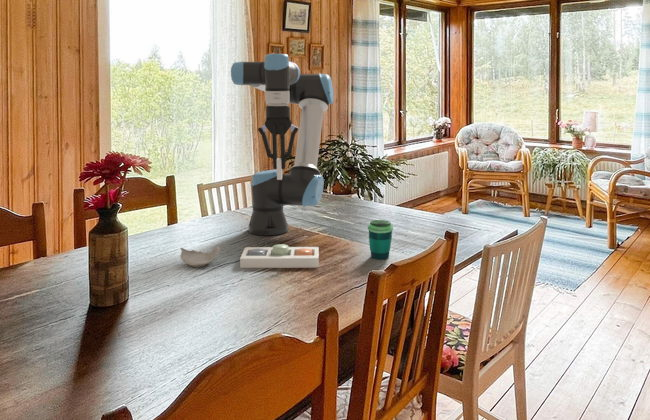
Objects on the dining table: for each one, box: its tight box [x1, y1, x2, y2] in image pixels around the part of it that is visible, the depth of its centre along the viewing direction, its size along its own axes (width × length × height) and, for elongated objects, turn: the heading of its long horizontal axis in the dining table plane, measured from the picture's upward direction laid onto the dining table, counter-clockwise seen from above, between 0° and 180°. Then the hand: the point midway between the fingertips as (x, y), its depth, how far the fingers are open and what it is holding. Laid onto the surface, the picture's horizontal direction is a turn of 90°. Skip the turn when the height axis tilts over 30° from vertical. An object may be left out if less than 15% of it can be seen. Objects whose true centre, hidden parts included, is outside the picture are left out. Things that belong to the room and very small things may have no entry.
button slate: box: [249, 249, 265, 256], centre depth 175 cm, size 5×5×3 cm
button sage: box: [272, 243, 289, 256], centre depth 174 cm, size 5×5×3 cm
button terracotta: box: [296, 249, 312, 256], centre depth 175 cm, size 5×5×3 cm
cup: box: [367, 219, 394, 261], centre depth 177 cm, size 8×8×12 cm
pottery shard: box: [180, 246, 221, 268], centre depth 173 cm, size 10×11×5 cm
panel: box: [239, 246, 320, 269], centre depth 175 cm, size 24×12×3 cm, turn 90°
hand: (279, 178), depth 178 cm, fingers closed
